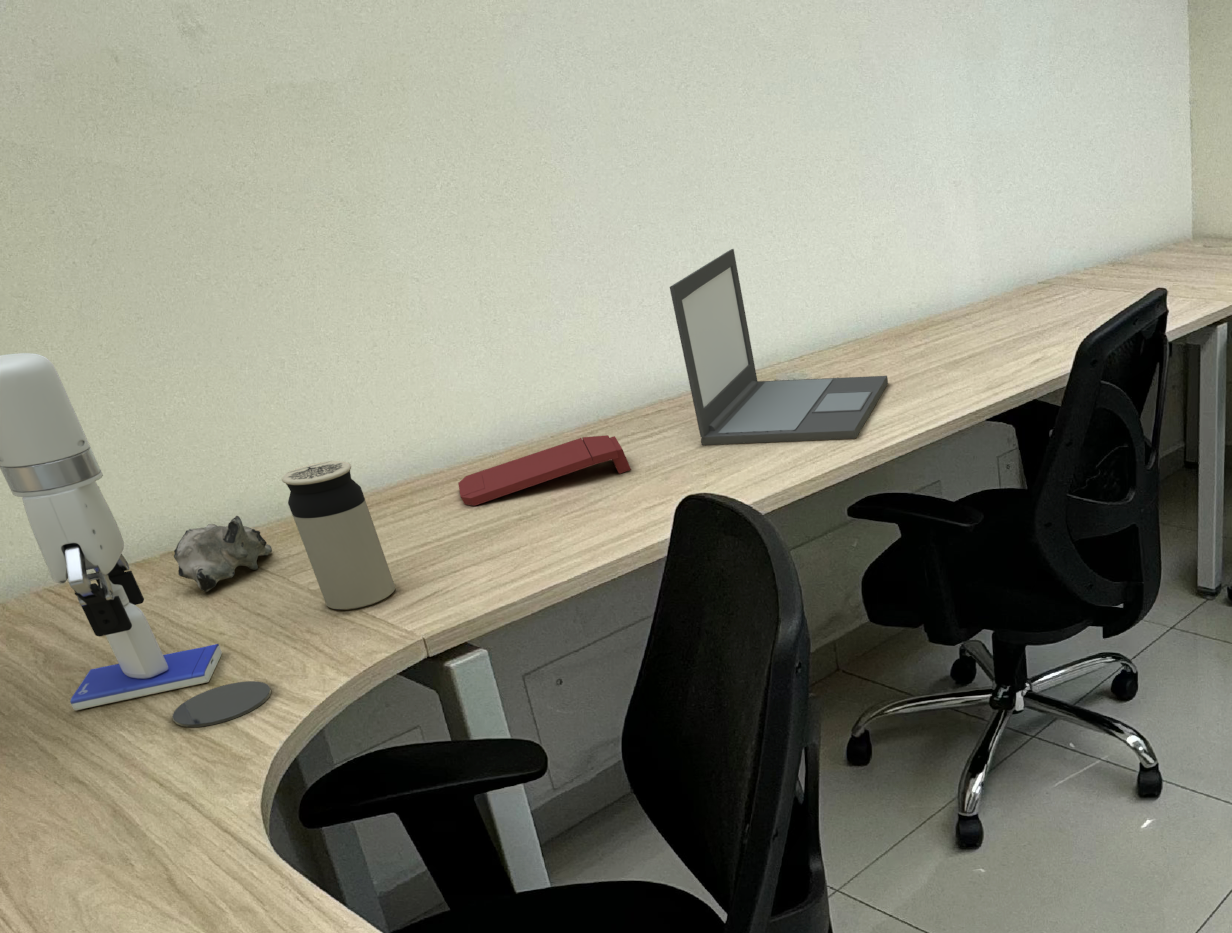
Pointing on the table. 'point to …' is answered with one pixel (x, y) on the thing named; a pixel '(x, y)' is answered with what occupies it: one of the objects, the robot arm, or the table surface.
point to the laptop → (728, 375)
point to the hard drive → (118, 686)
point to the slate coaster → (221, 704)
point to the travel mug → (338, 535)
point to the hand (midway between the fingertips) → (120, 617)
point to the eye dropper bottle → (136, 643)
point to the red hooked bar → (541, 468)
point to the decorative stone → (218, 552)
